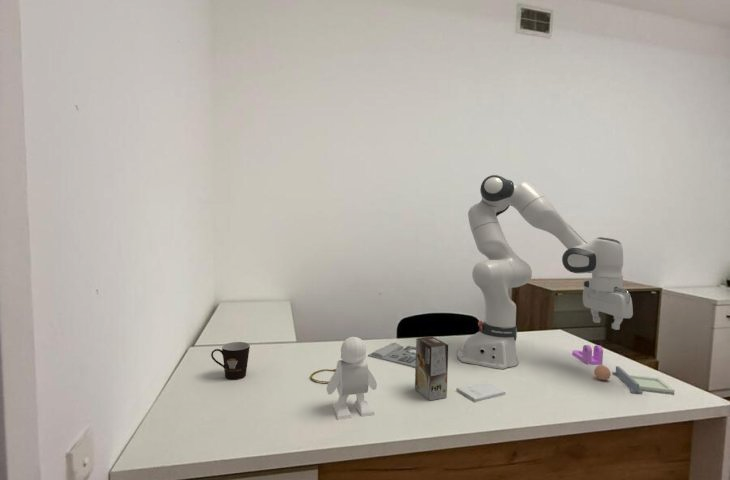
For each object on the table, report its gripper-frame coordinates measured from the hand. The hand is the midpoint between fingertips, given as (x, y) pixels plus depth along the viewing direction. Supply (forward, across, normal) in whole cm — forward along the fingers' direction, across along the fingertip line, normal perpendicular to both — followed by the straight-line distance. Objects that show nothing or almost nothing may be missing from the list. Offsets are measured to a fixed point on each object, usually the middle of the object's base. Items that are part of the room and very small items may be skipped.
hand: (605, 325), depth 130 cm
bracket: (+19, +21, -7) cm, 29 cm away
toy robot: (+18, -21, +87) cm, 91 cm away
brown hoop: (+18, +2, +92) cm, 94 cm away
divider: (+19, -3, -6) cm, 20 cm away
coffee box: (+18, -11, +63) cm, 66 cm away
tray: (+19, -5, -12) cm, 23 cm away
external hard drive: (+19, -10, +47) cm, 52 cm away
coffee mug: (+17, +2, +126) cm, 127 cm away
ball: (+19, 0, 0) cm, 19 cm away
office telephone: (+18, +23, +65) cm, 71 cm away
